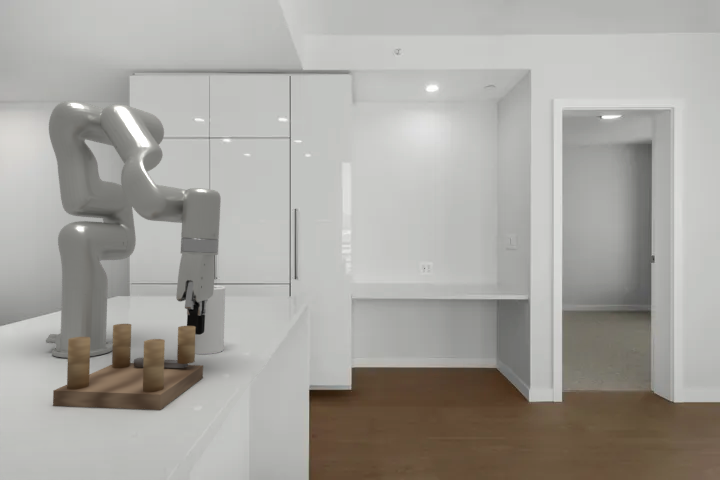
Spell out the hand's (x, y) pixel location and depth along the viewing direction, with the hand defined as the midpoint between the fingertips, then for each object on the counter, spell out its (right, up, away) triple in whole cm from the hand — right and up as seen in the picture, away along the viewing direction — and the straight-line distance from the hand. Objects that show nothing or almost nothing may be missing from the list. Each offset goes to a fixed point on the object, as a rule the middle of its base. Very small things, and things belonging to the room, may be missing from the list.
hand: (195, 333), depth 98 cm
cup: (-4, -8, +18) cm, 20 cm away
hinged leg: (-4, -5, -7) cm, 9 cm away
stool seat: (-6, -8, -14) cm, 17 cm away
